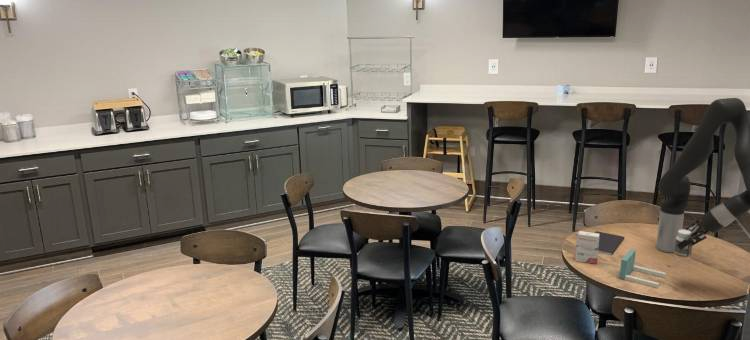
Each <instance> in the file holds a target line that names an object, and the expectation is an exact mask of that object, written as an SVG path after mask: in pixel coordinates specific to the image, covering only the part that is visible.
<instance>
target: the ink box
mask: <svg viewBox="0 0 750 340" xmlns="http://www.w3.org/2000/svg"><path fill="white" fill-rule="evenodd" d="M599 235H600V234H598V233H595V232H590V231H589V232H588V231H581V230H578V231H577V234H576V243H575V245H576V247H575V257H574V259H575V260H574V261H575V262H582V263H589V264H594V265H595V264H597V263H598V258H599V257H598V256H599V252H598V247H599Z"/></svg>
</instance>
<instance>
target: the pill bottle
mask: <svg viewBox="0 0 750 340" xmlns="http://www.w3.org/2000/svg"><path fill="white" fill-rule="evenodd" d="M690 233H691V231H688V230H685V229H682V230H679V231H678V236H677V237H676V240H675V249H674V252H673V255H674V257H676V258H678V259H682V260H688V259H690V258H691V257H692V256H691V255H692V250H693V249H692V248H693V246H692V245H690V244H689V245H688V246H686V247H685V248H683V249H680V248H679V247H678V246H677V244H679V243H680V242H682V241H683V240H685V239H686V238H687V237H689V236H690Z"/></svg>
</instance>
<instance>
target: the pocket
mask: <svg viewBox="0 0 750 340" xmlns="http://www.w3.org/2000/svg"><path fill="white" fill-rule="evenodd" d="M635 261H636V249H632V248H631V249H629V250H628V251H627V252H626V254H625V255H624V256H623V257H622V258H621V260H620V267H619V268H620V270H619V279H621V280H623V281H628V282H632V283H636V284H639V285H644V286H646V287H647V286H648V287H651V288H655V289H658V288H659V286H660V283H659V282H656V281H652V280H650V279H649V280H648V279H644V278H639V277H635V276H632V275H630V274H631V273H632V271H635V272H640V273H644V274H647V275H650V276H655V277H659V278H663V279H664V278H666V276H667V272H663V271H658V270H655V269H650V268H647V267H642V266H638V265H635Z"/></svg>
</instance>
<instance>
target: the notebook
mask: <svg viewBox="0 0 750 340" xmlns="http://www.w3.org/2000/svg"><path fill="white" fill-rule="evenodd" d="M594 233H598V234H600V235H599V247H598V253H600V254H606V255H610V256H613V255H614V254H615V252H616V251H617V249H618V248H619V247H620V246H621V244H622V243H623V242H624V240H625V236H623V235H618V234H614V233H607V232H603V231H597V230H596V231H594Z"/></svg>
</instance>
